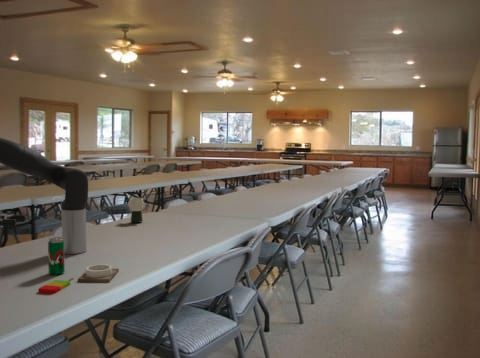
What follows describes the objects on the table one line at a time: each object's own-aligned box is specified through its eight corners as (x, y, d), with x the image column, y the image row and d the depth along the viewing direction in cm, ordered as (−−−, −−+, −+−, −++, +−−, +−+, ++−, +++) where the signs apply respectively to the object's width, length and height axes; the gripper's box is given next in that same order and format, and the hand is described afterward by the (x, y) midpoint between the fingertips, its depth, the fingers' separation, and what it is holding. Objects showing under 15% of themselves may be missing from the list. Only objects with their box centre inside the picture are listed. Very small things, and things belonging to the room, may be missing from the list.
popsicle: (36, 294, 138) (36, 288, 138) (64, 279, 152) (64, 274, 152) (53, 296, 137) (53, 290, 137) (80, 280, 151) (80, 275, 151)
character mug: (149, 222, 252) (149, 198, 251) (141, 224, 246) (141, 200, 244) (132, 220, 256) (132, 197, 255) (124, 222, 250) (124, 198, 249)
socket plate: (89, 271, 160) (89, 262, 160) (118, 271, 161) (118, 262, 160) (77, 281, 148) (77, 272, 148) (109, 282, 149) (109, 273, 148)
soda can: (66, 271, 160) (66, 236, 159) (61, 275, 155) (61, 240, 154) (51, 271, 160) (51, 236, 159) (46, 275, 155) (45, 240, 154)
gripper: (-43, 212, 145) (12, 212, 147) (-22, 205, 159) (27, 206, 161) (-42, 236, 146) (12, 236, 148) (-22, 227, 160) (28, 227, 162)
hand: (20, 220), depth 154 cm, fingers open, 8 cm apart
